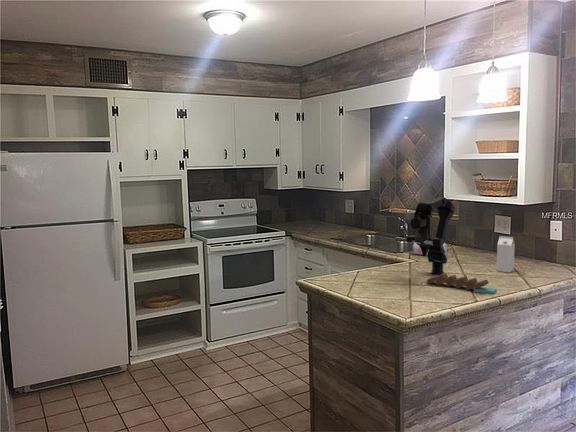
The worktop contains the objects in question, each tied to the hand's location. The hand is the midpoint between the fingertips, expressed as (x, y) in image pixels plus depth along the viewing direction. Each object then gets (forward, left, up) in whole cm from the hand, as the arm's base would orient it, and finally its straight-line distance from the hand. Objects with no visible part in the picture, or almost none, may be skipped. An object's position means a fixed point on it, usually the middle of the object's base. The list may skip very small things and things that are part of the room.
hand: (424, 256), depth 250 cm
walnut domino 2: (+9, +7, -11) cm, 16 cm away
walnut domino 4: (+12, +16, -11) cm, 23 cm away
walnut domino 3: (+10, +12, -11) cm, 19 cm away
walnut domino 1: (+7, +3, -11) cm, 13 cm away
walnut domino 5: (+14, +21, -11) cm, 28 cm away
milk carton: (-29, +41, -12) cm, 52 cm away
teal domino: (+15, +24, -12) cm, 31 cm away
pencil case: (-60, 0, -12) cm, 61 cm away
